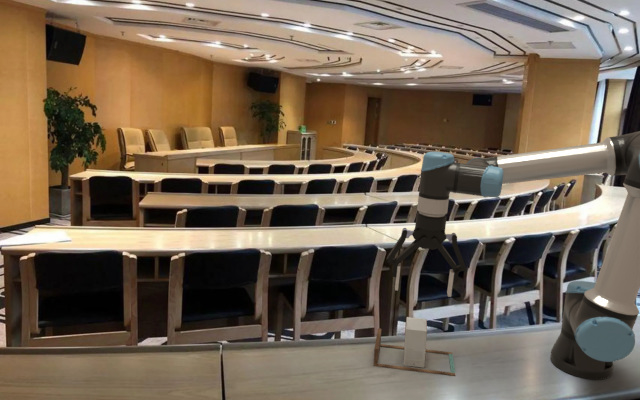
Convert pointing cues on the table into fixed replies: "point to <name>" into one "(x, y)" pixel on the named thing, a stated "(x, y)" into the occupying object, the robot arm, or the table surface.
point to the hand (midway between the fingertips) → (422, 291)
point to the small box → (415, 342)
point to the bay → (376, 357)
